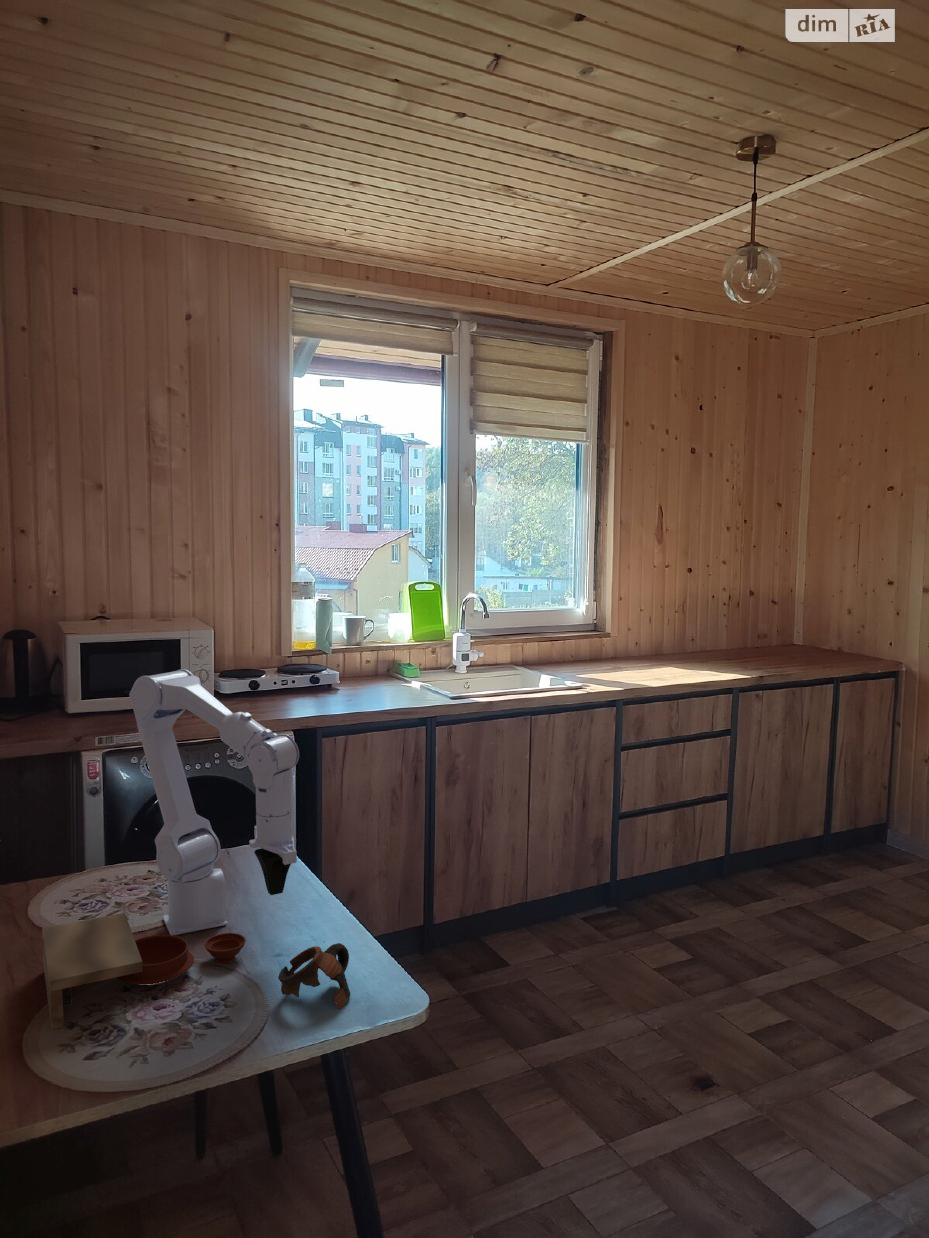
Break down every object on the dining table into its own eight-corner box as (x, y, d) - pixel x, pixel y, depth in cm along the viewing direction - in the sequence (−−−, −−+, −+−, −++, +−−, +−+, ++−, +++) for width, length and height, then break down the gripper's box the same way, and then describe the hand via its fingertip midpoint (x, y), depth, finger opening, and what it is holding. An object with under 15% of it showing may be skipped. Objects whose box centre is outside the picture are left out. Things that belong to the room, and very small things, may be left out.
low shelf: (126, 954, 143) (124, 912, 142) (143, 1007, 127) (142, 961, 127) (43, 971, 137) (42, 928, 137) (51, 1029, 122) (49, 980, 121)
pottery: (107, 969, 139) (106, 942, 138) (235, 940, 149) (234, 915, 148) (120, 1004, 129) (119, 975, 128) (256, 970, 139) (255, 944, 138)
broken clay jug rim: (334, 1024, 125) (304, 976, 124) (289, 1034, 129) (259, 988, 128) (375, 966, 135) (347, 922, 134) (332, 977, 140) (305, 934, 139)
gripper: (236, 803, 147) (237, 882, 149) (265, 828, 135) (266, 914, 136) (276, 796, 151) (278, 873, 152) (308, 821, 139) (309, 904, 140)
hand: (275, 892), depth 145 cm, fingers closed
